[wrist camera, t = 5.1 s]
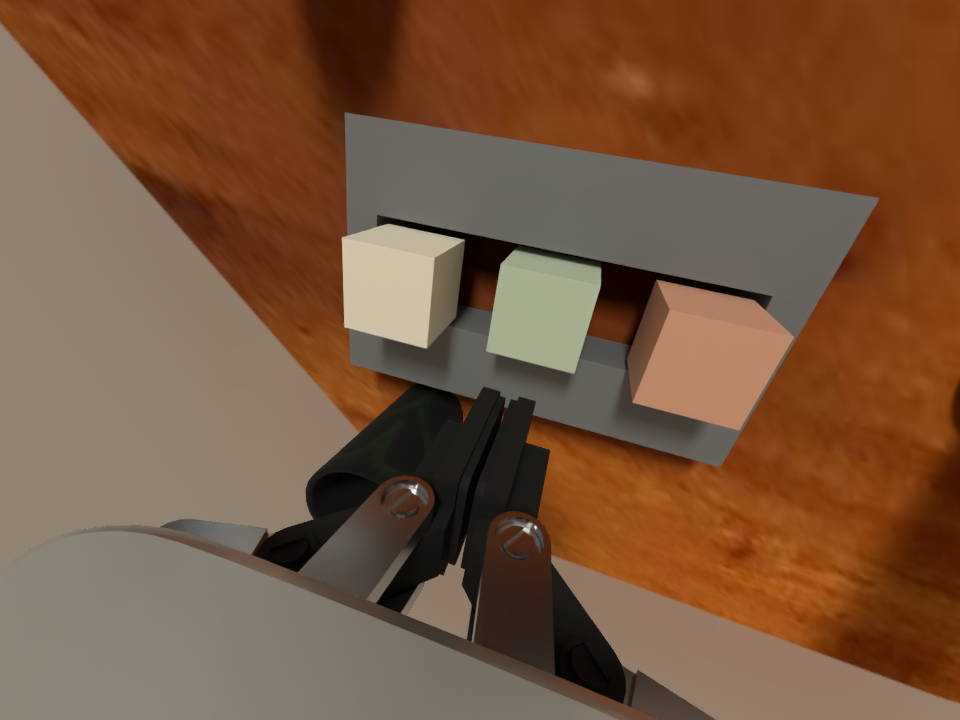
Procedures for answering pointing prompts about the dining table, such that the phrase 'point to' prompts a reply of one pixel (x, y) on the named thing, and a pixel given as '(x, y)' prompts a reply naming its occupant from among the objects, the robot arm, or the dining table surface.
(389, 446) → the cup
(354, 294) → the cream button
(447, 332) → the console
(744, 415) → the terracotta button
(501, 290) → the green button
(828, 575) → the dining table surface
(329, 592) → the robot arm
